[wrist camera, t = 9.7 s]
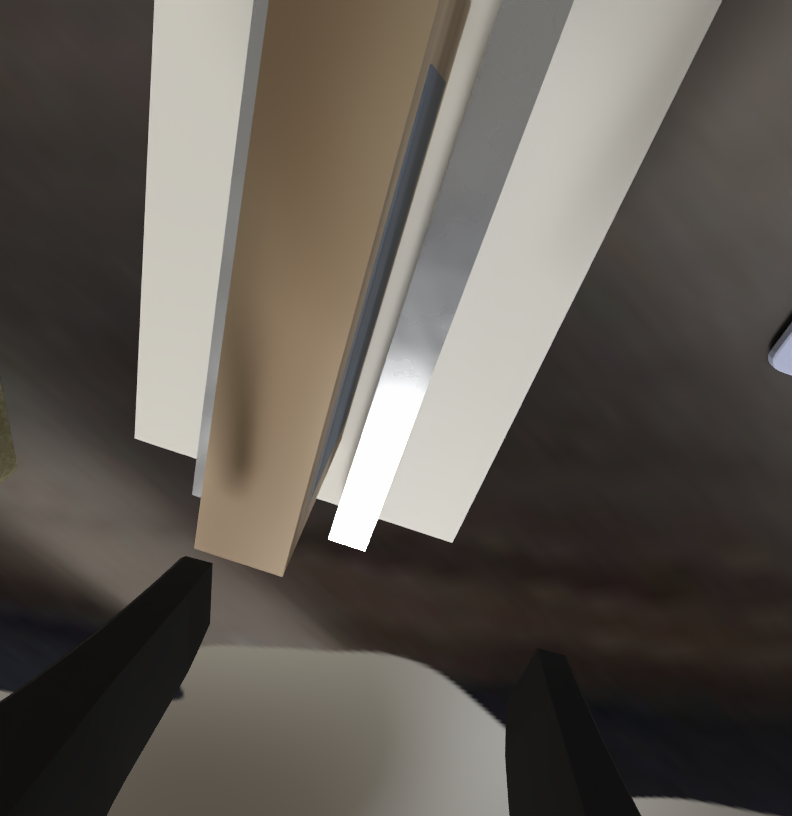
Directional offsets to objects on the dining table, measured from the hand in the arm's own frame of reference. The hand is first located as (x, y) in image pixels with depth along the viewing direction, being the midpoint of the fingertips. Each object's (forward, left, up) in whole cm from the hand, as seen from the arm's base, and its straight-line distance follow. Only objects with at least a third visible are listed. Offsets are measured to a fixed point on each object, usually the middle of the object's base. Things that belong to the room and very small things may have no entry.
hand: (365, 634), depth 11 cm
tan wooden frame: (+4, -5, -9) cm, 11 cm away
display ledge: (+4, -5, -10) cm, 12 cm away
